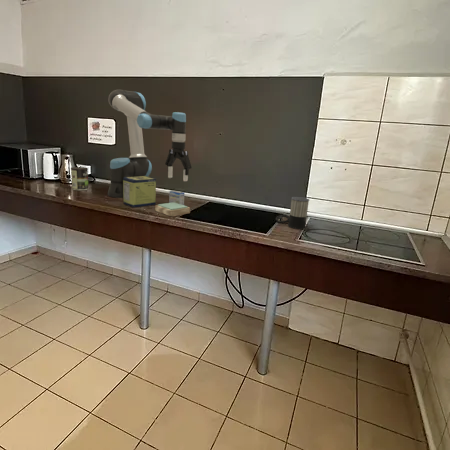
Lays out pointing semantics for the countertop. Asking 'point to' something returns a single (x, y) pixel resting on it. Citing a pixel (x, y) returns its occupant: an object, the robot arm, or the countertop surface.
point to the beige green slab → (172, 211)
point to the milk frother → (296, 213)
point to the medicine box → (176, 197)
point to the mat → (172, 206)
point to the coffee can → (79, 178)
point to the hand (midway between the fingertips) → (177, 179)
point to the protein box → (139, 191)
